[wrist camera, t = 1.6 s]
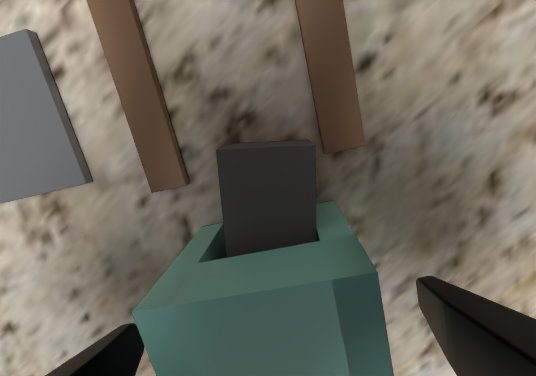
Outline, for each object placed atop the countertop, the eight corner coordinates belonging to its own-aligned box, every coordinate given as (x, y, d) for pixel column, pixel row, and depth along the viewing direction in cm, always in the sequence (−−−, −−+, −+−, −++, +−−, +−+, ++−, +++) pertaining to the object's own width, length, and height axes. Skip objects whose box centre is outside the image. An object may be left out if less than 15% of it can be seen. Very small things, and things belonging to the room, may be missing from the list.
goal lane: (156, 190, 12) (152, 193, 11) (87, -18, 10) (78, -23, 9) (362, 144, 10) (365, 145, 10) (324, -98, 9) (326, -108, 8)
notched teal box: (225, 304, 13) (180, 437, 7) (201, 226, 12) (131, 312, 6) (349, 285, 12) (400, 415, 7) (334, 200, 11) (377, 272, 6)
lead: (251, 345, 13) (241, 406, 11) (234, 143, 11) (216, 150, 8) (312, 345, 13) (319, 408, 10) (308, 139, 11) (315, 144, 8)
